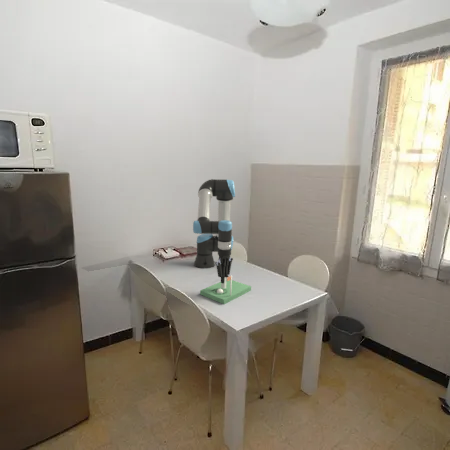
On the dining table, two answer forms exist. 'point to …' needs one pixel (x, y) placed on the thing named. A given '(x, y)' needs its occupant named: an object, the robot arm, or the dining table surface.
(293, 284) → the dining table surface
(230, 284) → the mini golf green
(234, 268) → the dining table surface
